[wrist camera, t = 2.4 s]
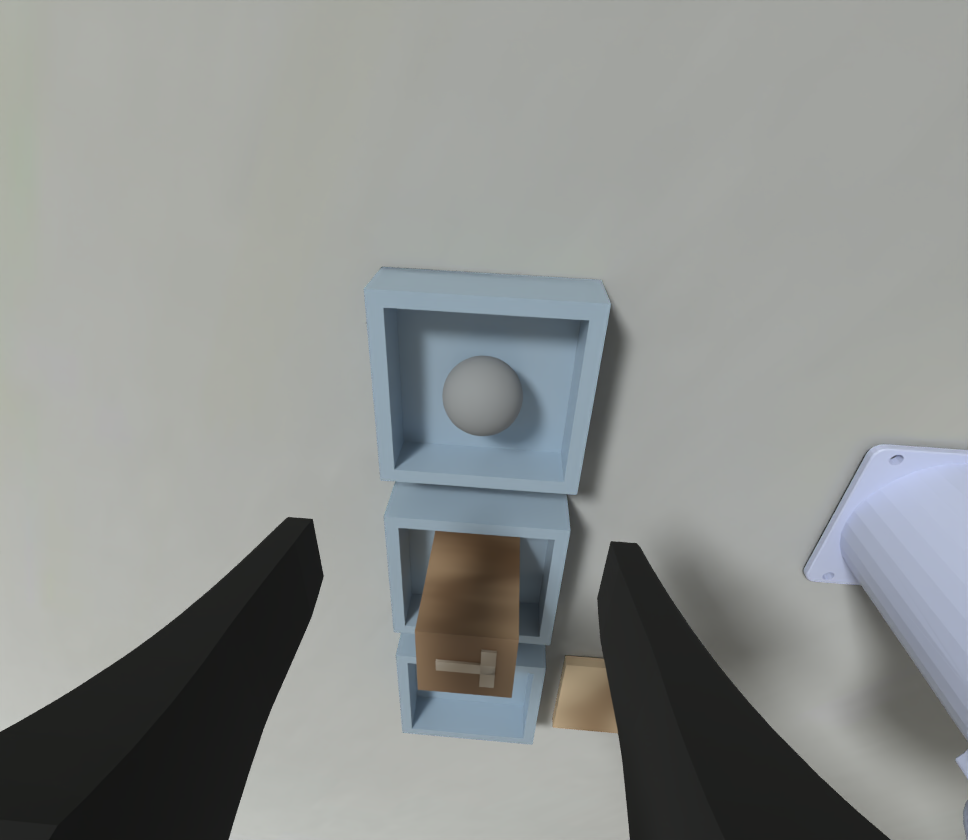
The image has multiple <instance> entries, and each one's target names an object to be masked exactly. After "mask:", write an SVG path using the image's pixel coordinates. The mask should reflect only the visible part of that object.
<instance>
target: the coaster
mask: <svg viewBox="0 0 968 840" xmlns="http://www.w3.org/2000/svg"><path fill="white" fill-rule="evenodd" d="M552 721H553V727H554V728H565V729H576V730H587V731H598V732H609V733H618V730H617V725H616V719H615V714H614V709H613V704H612V699H611V693H610V688H609V683H608V678H607V672H606V667H605V662H604V659H601V658H589V657H577V656H566V655H565V660H564V665H563V670H562V674H561V679H560V684H559V689H558V694H557V698H556V703H555V708H554V713H553V718H552Z"/></svg>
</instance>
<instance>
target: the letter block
mask: <svg viewBox="0 0 968 840" xmlns="http://www.w3.org/2000/svg"><path fill="white" fill-rule="evenodd" d="M519 584H520V537H510V536H497V535H485V534H472V533H459V532H446V531H435V535H434V539H433V544H432V549H431V554H430V559H429V564H428V569H427V574H426V579H425V584H424V588H423V593H422V598H421V603H420V608H419V613H418V618H417V623H416V628H415V646H416V665H417V684H418V690H427V691H438V692H449V693H461V694H472V695H483V696H494V697H506V698H512V691H513V683H514V675H515V667H516V659H517V651H518V643H519Z"/></svg>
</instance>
